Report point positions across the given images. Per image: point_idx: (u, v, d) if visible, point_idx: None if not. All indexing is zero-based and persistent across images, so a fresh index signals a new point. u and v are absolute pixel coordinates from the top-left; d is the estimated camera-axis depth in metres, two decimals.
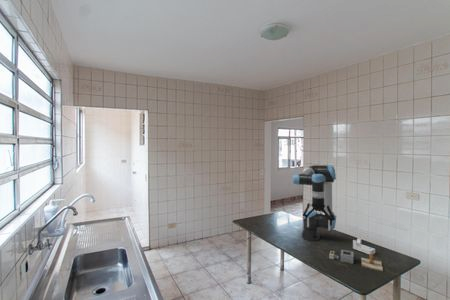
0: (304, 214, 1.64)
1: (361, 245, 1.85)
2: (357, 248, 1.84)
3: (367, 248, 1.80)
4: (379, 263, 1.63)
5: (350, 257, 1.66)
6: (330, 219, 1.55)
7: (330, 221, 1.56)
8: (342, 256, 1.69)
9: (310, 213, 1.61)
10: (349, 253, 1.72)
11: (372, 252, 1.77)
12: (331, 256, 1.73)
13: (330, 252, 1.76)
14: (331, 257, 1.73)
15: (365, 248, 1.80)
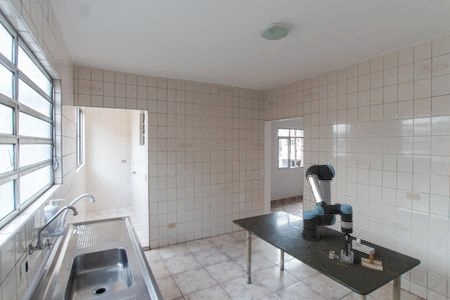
0: None
1: (360, 245, 1.86)
2: (356, 248, 1.84)
3: (366, 248, 1.81)
4: (379, 263, 1.63)
5: (350, 257, 1.66)
6: None
7: (345, 252, 1.64)
8: (342, 256, 1.69)
9: None
10: (349, 253, 1.72)
11: (371, 252, 1.78)
12: (331, 256, 1.73)
13: (330, 252, 1.76)
14: (331, 257, 1.73)
15: (364, 248, 1.81)
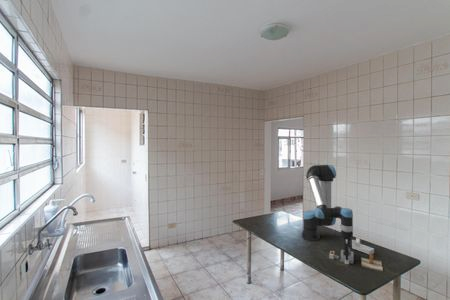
0: None
1: (360, 245, 1.86)
2: (356, 248, 1.84)
3: (366, 248, 1.81)
4: (379, 263, 1.63)
5: (350, 257, 1.66)
6: None
7: (345, 255, 1.64)
8: (342, 256, 1.69)
9: None
10: (349, 253, 1.72)
11: (371, 252, 1.78)
12: (331, 256, 1.73)
13: (330, 252, 1.76)
14: (331, 257, 1.73)
15: (364, 248, 1.81)
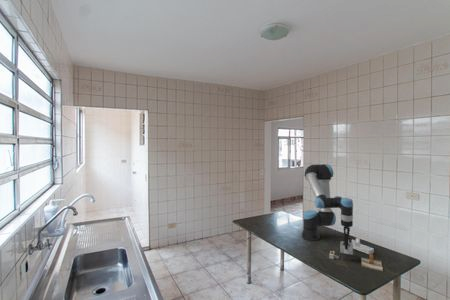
0: None
1: (360, 245, 1.86)
2: (356, 247, 1.84)
3: (366, 247, 1.81)
4: (379, 263, 1.63)
5: (350, 248, 1.66)
6: (344, 243, 1.67)
7: (345, 245, 1.67)
8: (342, 247, 1.69)
9: None
10: (349, 244, 1.72)
11: (371, 251, 1.78)
12: (331, 256, 1.73)
13: (330, 252, 1.76)
14: (331, 257, 1.73)
15: (364, 247, 1.81)
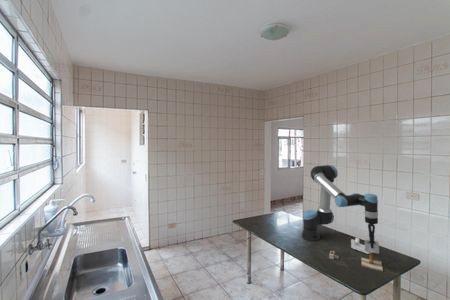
0: None
1: (359, 244, 1.87)
2: (355, 247, 1.85)
3: None
4: (379, 263, 1.63)
5: (375, 247, 1.58)
6: None
7: (370, 243, 1.58)
8: (367, 246, 1.61)
9: (369, 232, 1.66)
10: None
11: None
12: (331, 256, 1.73)
13: (330, 252, 1.76)
14: (331, 257, 1.73)
15: (363, 247, 1.82)
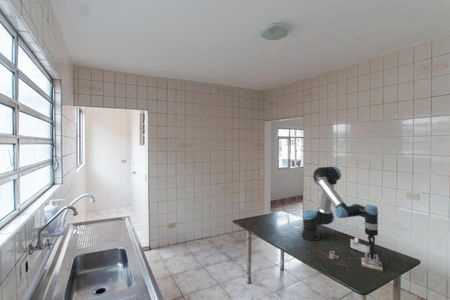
0: None
1: (358, 244, 1.87)
2: (355, 247, 1.85)
3: (364, 247, 1.82)
4: (379, 263, 1.63)
5: (375, 260, 1.59)
6: (369, 252, 1.57)
7: (370, 254, 1.57)
8: (366, 259, 1.61)
9: None
10: None
11: None
12: (331, 256, 1.73)
13: (330, 252, 1.76)
14: (331, 257, 1.73)
15: (362, 247, 1.82)
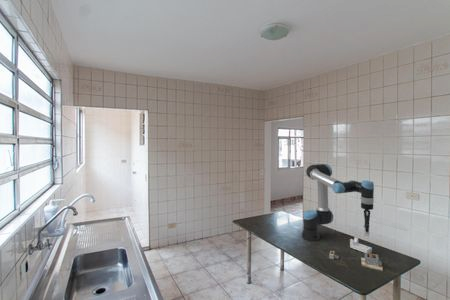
0: None
1: (358, 244, 1.87)
2: (354, 247, 1.85)
3: (364, 247, 1.82)
4: (379, 263, 1.63)
5: (375, 260, 1.59)
6: (364, 225, 1.62)
7: (365, 227, 1.62)
8: (366, 259, 1.61)
9: None
10: None
11: (369, 251, 1.79)
12: (331, 256, 1.73)
13: (330, 252, 1.76)
14: (331, 257, 1.73)
15: (362, 247, 1.82)
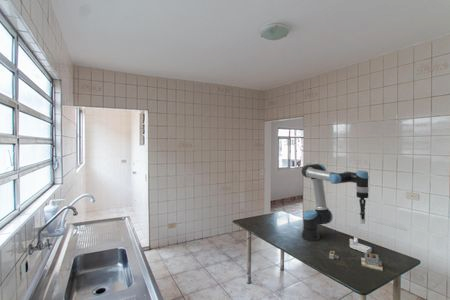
0: (360, 205, 1.82)
1: (358, 244, 1.88)
2: (354, 247, 1.86)
3: (363, 247, 1.83)
4: (379, 263, 1.63)
5: (375, 260, 1.59)
6: (360, 213, 1.68)
7: (361, 215, 1.68)
8: (366, 259, 1.61)
9: None
10: None
11: (368, 251, 1.79)
12: (331, 256, 1.73)
13: (330, 252, 1.76)
14: (331, 257, 1.73)
15: (362, 247, 1.83)
